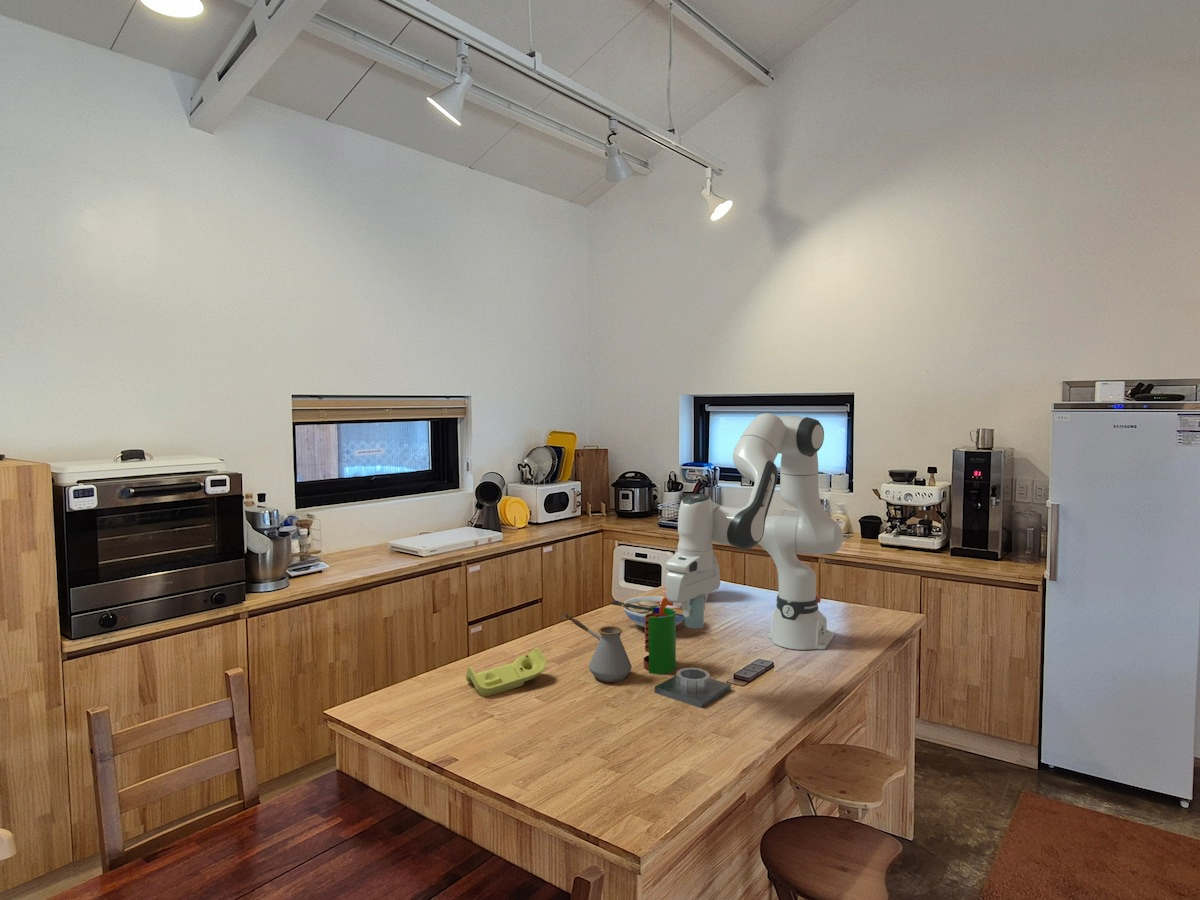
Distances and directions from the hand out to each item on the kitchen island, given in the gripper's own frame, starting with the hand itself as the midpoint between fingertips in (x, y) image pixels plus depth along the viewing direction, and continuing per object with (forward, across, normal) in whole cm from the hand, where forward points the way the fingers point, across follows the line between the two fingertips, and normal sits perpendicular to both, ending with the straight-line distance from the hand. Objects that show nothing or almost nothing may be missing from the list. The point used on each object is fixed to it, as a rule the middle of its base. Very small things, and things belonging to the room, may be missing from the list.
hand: (694, 613), depth 181 cm
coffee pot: (+21, +7, -27) cm, 35 cm away
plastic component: (+21, +27, -39) cm, 52 cm away
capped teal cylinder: (+3, 0, 0) cm, 3 cm away
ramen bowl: (+20, -36, -37) cm, 56 cm away
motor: (+20, -8, -16) cm, 27 cm away
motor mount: (+20, 0, 0) cm, 20 cm away
